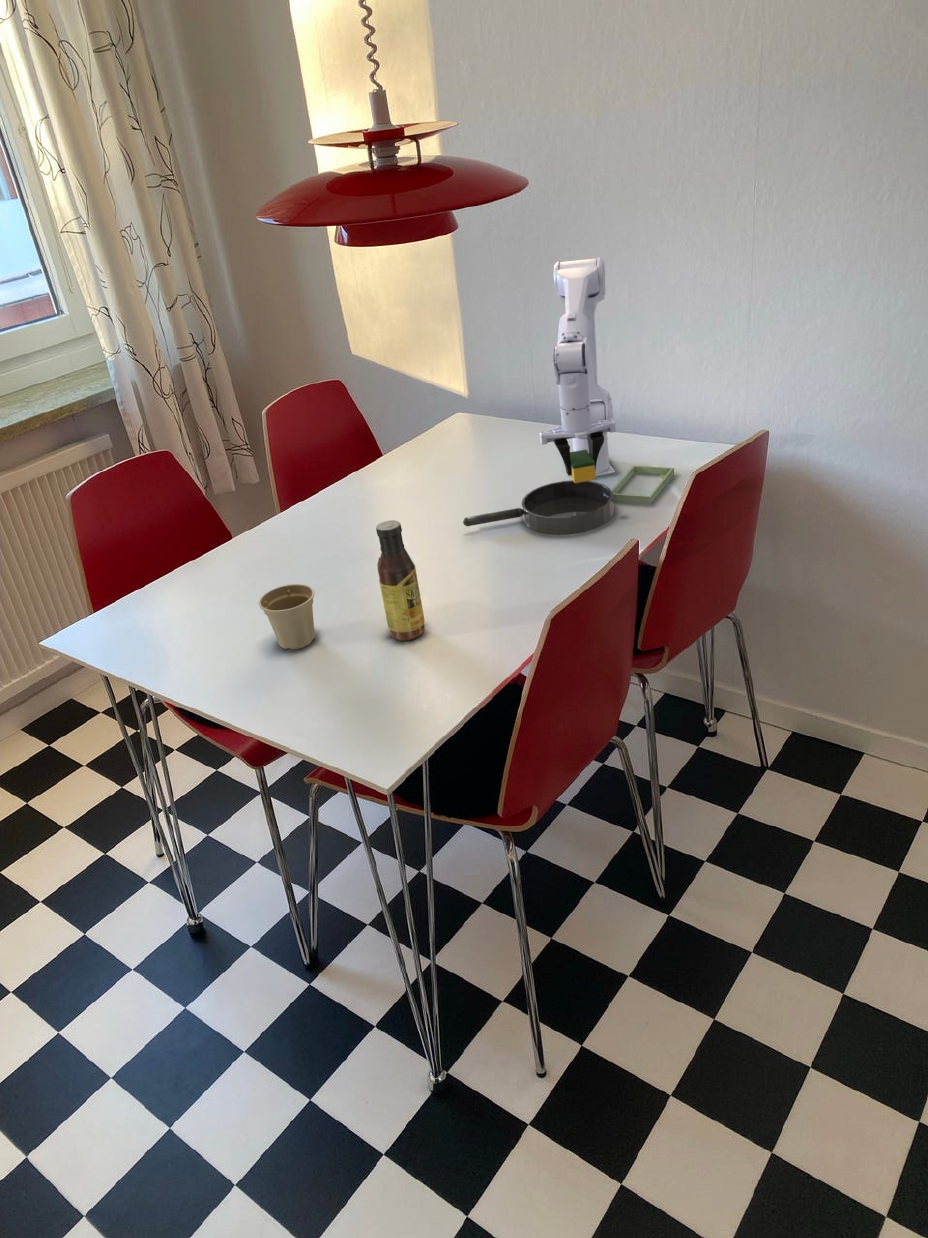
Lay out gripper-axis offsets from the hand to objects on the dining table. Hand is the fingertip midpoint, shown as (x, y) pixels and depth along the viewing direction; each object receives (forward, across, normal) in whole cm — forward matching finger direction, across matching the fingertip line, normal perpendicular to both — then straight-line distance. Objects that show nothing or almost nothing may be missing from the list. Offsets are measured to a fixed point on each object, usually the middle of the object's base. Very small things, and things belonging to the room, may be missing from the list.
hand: (580, 471), depth 194 cm
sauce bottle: (+8, -38, -36) cm, 53 cm away
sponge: (+1, 0, 0) cm, 1 cm away
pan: (+8, -4, -2) cm, 9 cm away
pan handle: (+6, -18, -1) cm, 20 cm away
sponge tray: (+8, +14, +5) cm, 17 cm away
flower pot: (+8, -58, -32) cm, 66 cm away
